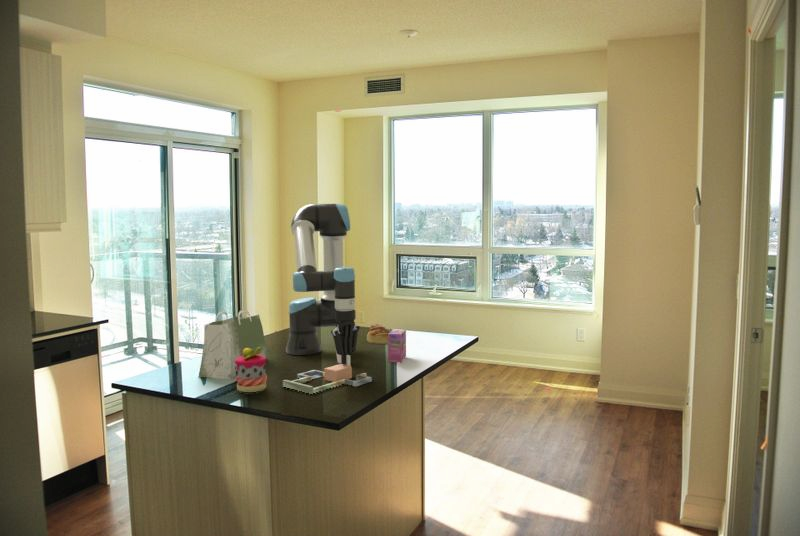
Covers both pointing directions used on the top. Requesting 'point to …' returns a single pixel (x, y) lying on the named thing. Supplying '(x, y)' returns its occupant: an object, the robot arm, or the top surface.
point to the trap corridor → (317, 374)
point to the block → (337, 372)
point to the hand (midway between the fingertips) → (346, 372)
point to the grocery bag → (229, 344)
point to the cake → (251, 371)
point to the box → (397, 345)
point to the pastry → (378, 334)
